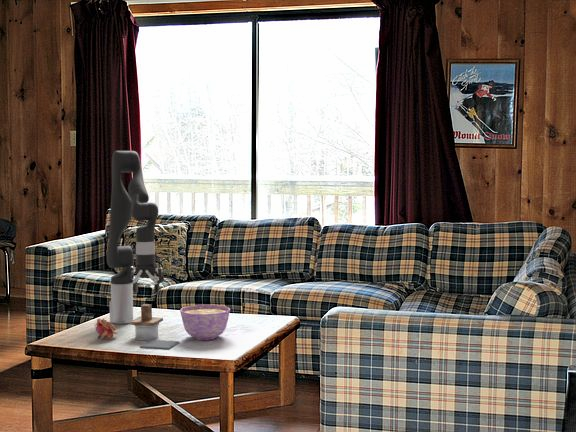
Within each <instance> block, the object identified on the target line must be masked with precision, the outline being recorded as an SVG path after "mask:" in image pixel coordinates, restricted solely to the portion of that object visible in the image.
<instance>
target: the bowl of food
mask: <svg viewBox="0 0 576 432" xmlns="http://www.w3.org/2000/svg"><path fill="white" fill-rule="evenodd" d="M179 311H180V315H181V316H180V317H181V319H182V323H183V327H184V330H185V332H186V334H187V335H189V336H191V337H193V338H195V340H199V341H209V340H215V339H216V338H217V337H219V336H221V335H222V334H223V333H224V332H225V331H226V328H227V324H228V322H229V316H230V313H231V312H230V311H231V308H230V307H229V306H226V305H220V304H195V305H187V306H185V307H181V308H180V309H179Z"/></svg>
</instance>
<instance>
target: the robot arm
mask: <svg viewBox="0 0 576 432" xmlns="http://www.w3.org/2000/svg"><path fill="white" fill-rule="evenodd" d="M122 173H124V174H125V173H126V174H131V173H132V174H133V176H132V177H131V179H130V181H129V183H128V188H127V190H126V188H125V186H124V184H123V181H122ZM127 191H128V192H127ZM149 200H150V196H149V194H148V191H147V188H146V185H145V183H144V176H143V170H142V164H141V159H140V155H139V153H138V152H137V151H135V150H115V151H114V152H113V154H112V157H111V197H110V210H109V211H110V212H109V213H110V214H109V231H108V232H109V234H108V242H107V250H106V265H107V266H108V267H109V268H111V269H117V268H118V269H119V268H122V269H121V270H120V271H119V272H118V273H116V274H114V275H112V276H111V277H110V292H111V293H110V295H111V296H110V299H111V300H109V322H110V323H112V324H117V325H122V324H123V325H124V324H130V321H132V320H134V298H133V297H134V296H133V295H134V293H135V294H136V293H139V283H138V282H139V281H140V279H151V280H150V281H152V282H153V283H154V284H153V286H154V287H153V288H154V289H153V291H154V294H156V295H157V294H158V293H159V292H160V284H162V283H163V282H164V281H165V278H164V277H165V275H164V268H163V267H162V266H161V267H157V266H156V245H155V227H156V223H157V219H158V215H159V208H158V207H159V206H158V205H157V204H156V203H155V202H149ZM132 218H133V220H135V221H139V222H141V221H147V223H146V224H145V225H141V226H137V228H136V231H135V234H136V240H135V241H136V244H135V254H134V251H133V248H132V247H131V246H130V245H119V242H120V239H121V237H122V235H123V233H124V232H125V230H126V229H127V227H128V226H129V224H130V222H131V221H132ZM134 255H135V256H134ZM134 258H135V259H136V260H135V263H136V267H135V266H134ZM135 272H136V273H137V274H136V276H134V275H135ZM155 273H157V274H158V276H157V275H156V274H155Z"/></svg>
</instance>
